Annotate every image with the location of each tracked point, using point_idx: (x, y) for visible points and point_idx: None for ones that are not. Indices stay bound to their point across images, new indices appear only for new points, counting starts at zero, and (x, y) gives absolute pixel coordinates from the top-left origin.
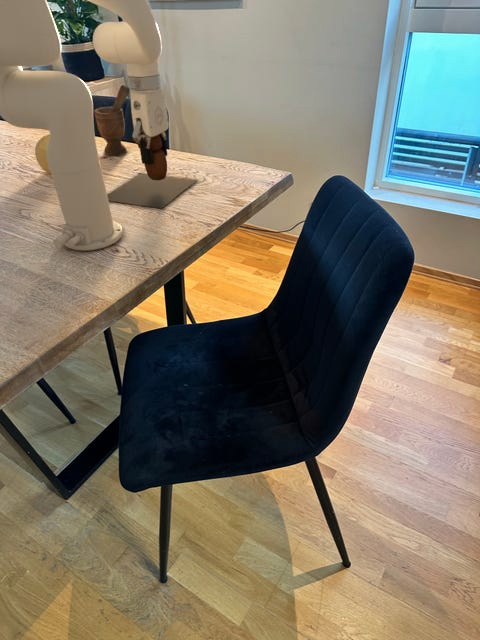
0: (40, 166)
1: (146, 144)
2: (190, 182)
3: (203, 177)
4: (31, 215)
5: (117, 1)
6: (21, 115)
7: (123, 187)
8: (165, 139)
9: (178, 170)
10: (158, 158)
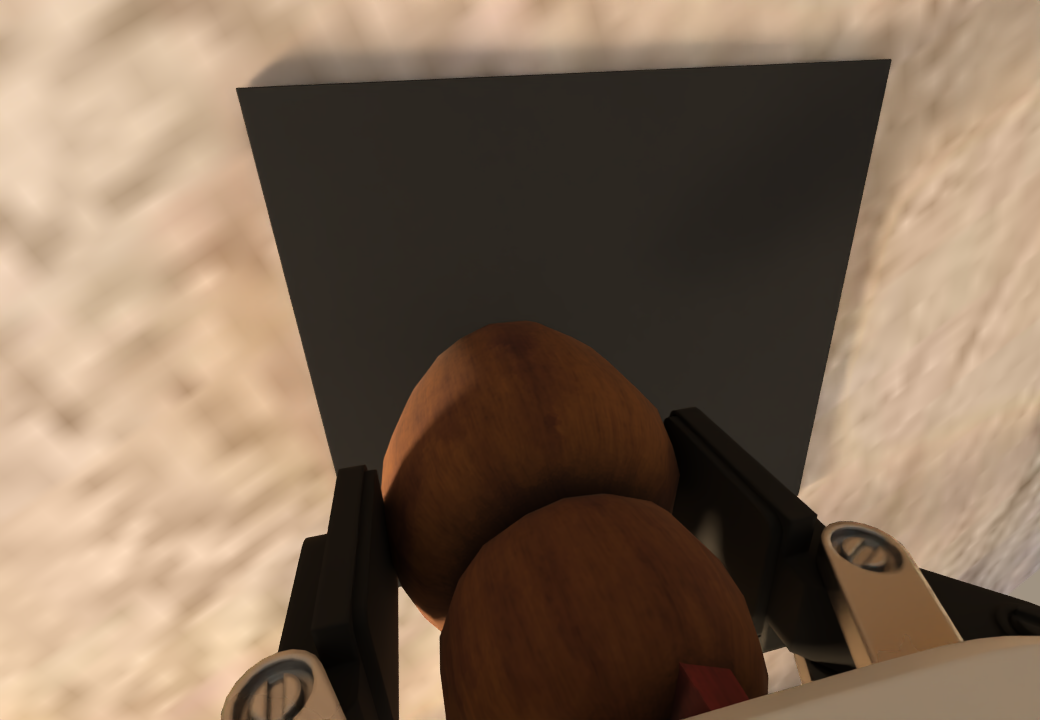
0: None
1: (918, 584)
2: (326, 123)
3: (86, 67)
4: None
5: None
6: None
7: None
8: (283, 659)
9: (102, 426)
10: (641, 405)
